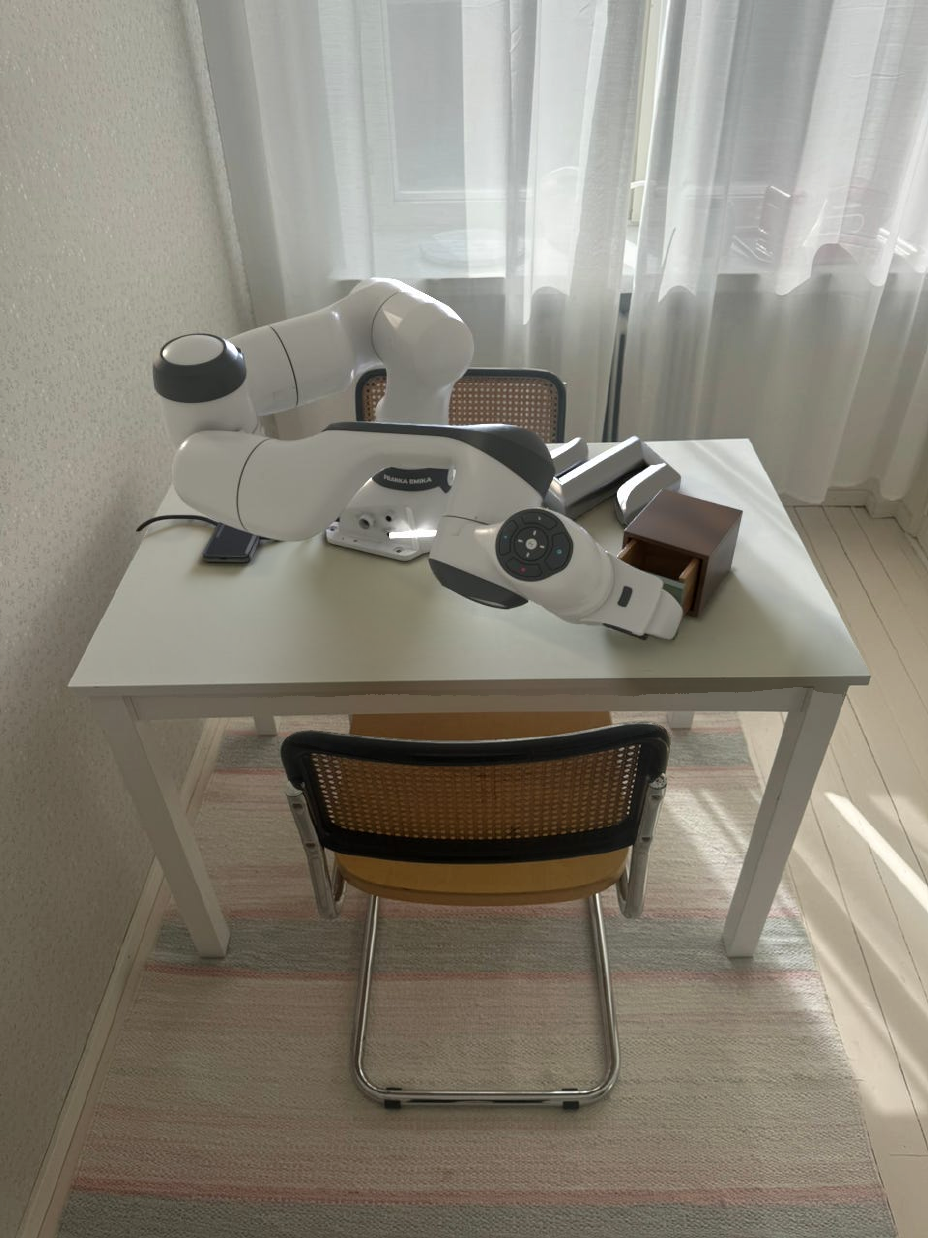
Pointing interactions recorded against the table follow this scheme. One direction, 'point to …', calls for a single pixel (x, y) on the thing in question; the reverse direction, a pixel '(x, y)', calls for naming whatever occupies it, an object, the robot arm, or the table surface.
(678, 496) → the cabinet
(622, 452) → the emblem
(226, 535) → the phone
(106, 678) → the table surface
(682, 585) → the green drawer
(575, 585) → the robot arm
